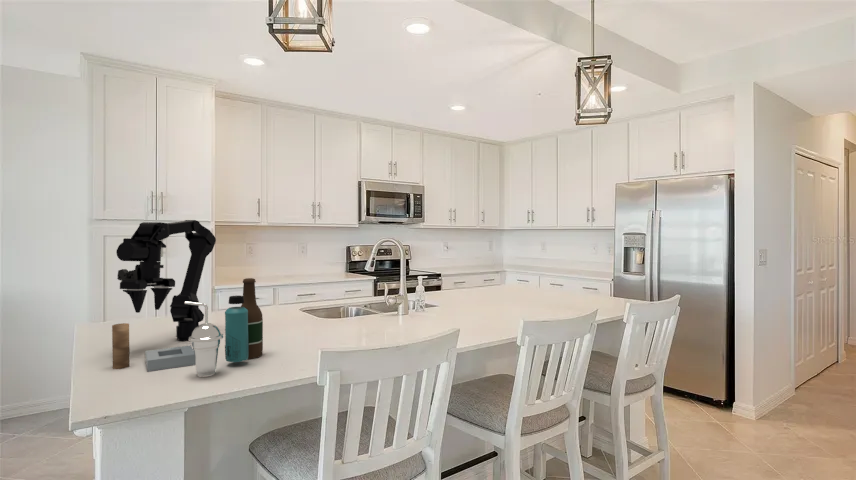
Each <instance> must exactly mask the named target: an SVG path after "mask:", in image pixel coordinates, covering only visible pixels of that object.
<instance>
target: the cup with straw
mask: <svg viewBox="0 0 856 480" xmlns="http://www.w3.org/2000/svg"><path fill="white" fill-rule="evenodd" d="M185 304H190V305H199V307H204V323H201V324H199V326H197V327H196V328H195V329H194V331H193V333H192V335H191V336H190V337H189V340H188V341H189V342H190V343H191V347H192V349H193V350H194V356H195V364H196V365H195V372H196V373H197V374H196V377H198V378H199V377H200V378H206V377H211V376H214V375H215V374H216V369H217V363H218V356H219V347H220V345H221V340H222V339H223V338H224V334H223V333H222V332H221V331H220V329H219V328H218V326H217V325H216V324H214V323H210V322H209V311H208V309H209V308H208V307H209V306H208V304H206V303H205V302H199V303H196V302H187V301H185Z"/></svg>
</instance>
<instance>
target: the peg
mask: <svg viewBox="0 0 856 480" xmlns="http://www.w3.org/2000/svg"><path fill="white" fill-rule="evenodd" d="M111 328H112V329H111V332H112V333H111V334H112V335H111V337H112V338H111V339H112V342H111V343H112V347H111V349H112V354H111V355H112V356H111V357H112V369H113V370H121V369H127V368H129V367H130V365H131V364H130V323H129V322H128V323H126V322H125V323H116V324H115V323H114V324H112V325H111Z"/></svg>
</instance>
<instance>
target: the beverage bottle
mask: <svg viewBox="0 0 856 480" xmlns="http://www.w3.org/2000/svg"><path fill="white" fill-rule="evenodd" d="M242 303H244V297H243V295H230V296H229V297H228V305H242ZM224 321H225V323H224V325H225V326H224V331H225V332H224V334H225V335H224V339H225V340H224V357H225V360H226V362H229V363H238V362H239V363H240V362H245V361H247V360H249V359H248V357H249V349H248V347H249V346H248V345H249V343H248V337H249V335H248V310H247V309H246V308H245V307H241V306H231V307H228V308H227V309H226V310H225V311H224Z"/></svg>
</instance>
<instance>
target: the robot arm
mask: <svg viewBox="0 0 856 480" xmlns="http://www.w3.org/2000/svg"><path fill="white" fill-rule="evenodd" d="M183 233H184V234H185V235H184V237H185V239H186V240H187V241H188V242H189V243H188V248H189V251H190V259H189V260H188V266H187V268H186V272H185V277H184V280H183V284H182V288H181V291H180V293H179V294H177V295H173V296H172V298H171V304H170V305H169V307H170V311H169V312H170V314H171V318H172V322H173V323H176V322H177V325H176V326H175V328H176V329H175V338H176V339H177V340H178V341H179V342H182V341H189V337H190V336H191V335H192V333H193V331H194V329H195V328H196V327H197V326H199V325H200V324H199V323H201V322H202V321H204V319H205V313H203V312H202V310H201V309H200V308H199V307H200V306H199V305H190V304H185V301H187V302H196V303H200V301H199V299H198V296H197V295H198V289H199V285H200V283H201V282H200V281H201V277H202V274H203V270H204V267H205V262H206V258H207V256H209V255H210V253H212V252H213V249H214V247H215V244H216V242H217V239H216V236H215V235H214V233H212V231H211V230H210V229H209V228H207V227H205V226H204V225H202V224H201V223H200V221H198V220H195V219H185V220H181V221H173V222H162V221H161V222H160V221H159V222H157V221H155V222H151V221H150V222H149V221H145V222H144V221H143V222H141V223H139V226H138V227H137V229H136V230H135V231H134V233H133V234H132V235H131V237H129V238H128V237H127V238H123V240H122V242H121V243H120V244H119V245H118V247H117V249H116V256H117V258H118V260H120V261H122V262H139V264H136V265H135V266H134V269H133V270H128V269H126V268H124V269H123V268H121V269H119V270H117V278H116V280H118V281H120V282H119V289H120V290H122V291H123V293H126V294H128V296H129V297H130V299H131V303H132V305H133V309H134V311H135V313H136V314H137V313H139V314H140V313H141V311H142V307H143V305H144V302H145V298H146V295H147V292H148V289H147V287H150V290H151V291H152V292H153V298H154V302H153V303H154V310H156V311H157V310H158V311H159V310H160V308H161V307H162V304H163V303H164V302H165V300H166V298H167V297H168V295H169V294H170V292H171V291H172V290H173V288H174V287H175V288H176V280H175V279H174V278H171V277H170V278H168V277H167V278H164V277H161V269H164V264H161V261H162V260H161V259H162V249H165V248H167V245H166V244H165V243H164V242H163V240H165V239H168V238H169V237H170V236H171V235H176V234H177V235H178V234H183Z"/></svg>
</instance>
